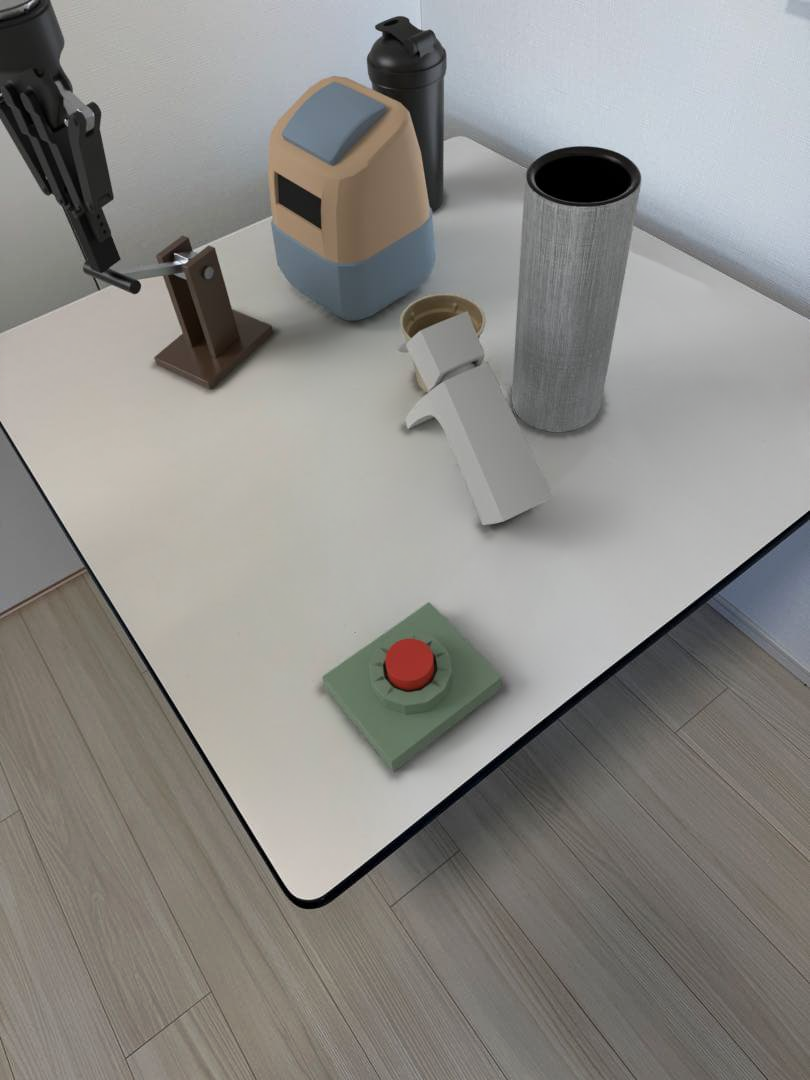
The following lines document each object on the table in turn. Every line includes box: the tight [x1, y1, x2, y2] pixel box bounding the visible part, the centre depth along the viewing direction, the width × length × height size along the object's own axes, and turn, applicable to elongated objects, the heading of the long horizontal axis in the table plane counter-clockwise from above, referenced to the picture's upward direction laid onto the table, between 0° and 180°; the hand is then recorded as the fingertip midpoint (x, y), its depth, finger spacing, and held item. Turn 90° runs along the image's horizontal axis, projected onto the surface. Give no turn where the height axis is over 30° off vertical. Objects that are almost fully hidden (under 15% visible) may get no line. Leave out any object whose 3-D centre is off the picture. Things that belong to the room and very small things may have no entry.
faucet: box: [397, 311, 555, 526], centre depth 84 cm, size 6×16×20 cm
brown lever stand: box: [153, 235, 274, 390], centre depth 96 cm, size 12×9×14 cm
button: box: [385, 638, 434, 690], centre depth 69 cm, size 4×4×2 cm
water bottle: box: [366, 15, 448, 213], centre depth 110 cm, size 10×10×23 cm
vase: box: [511, 145, 642, 433], centre depth 82 cm, size 10×10×27 cm
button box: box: [321, 601, 503, 773], centre depth 71 cm, size 12×10×4 cm
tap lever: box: [82, 250, 199, 295], centre depth 88 cm, size 13×7×2 cm, turn 146°
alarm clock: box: [267, 75, 436, 321], centre depth 99 cm, size 17×17×23 cm
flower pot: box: [399, 292, 487, 394], centre depth 92 cm, size 9×9×9 cm
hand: (106, 264), depth 83 cm, fingers closed
